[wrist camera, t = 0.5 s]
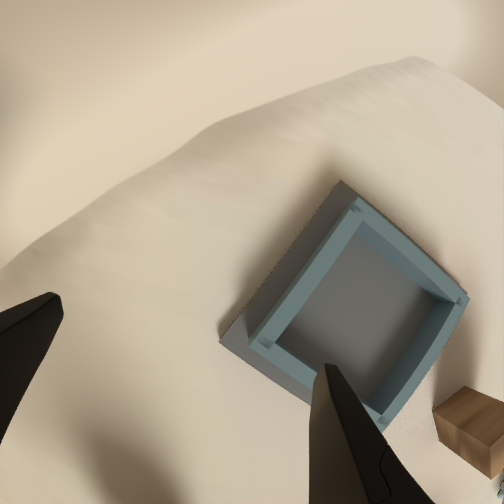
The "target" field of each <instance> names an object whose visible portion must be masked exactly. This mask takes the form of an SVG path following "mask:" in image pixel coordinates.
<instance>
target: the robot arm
mask: <svg viewBox="0 0 504 504" xmlns="http://www.w3.org/2000/svg"><path fill="white" fill-rule="evenodd" d="M63 315H64V312H63V307H62V303H61V298H60V296H59V295H58V294H56V293H53V292H47V293H45V294H42V295H40V296H38V297H35V298H33V299H30V300H28V301H26V302H23V303H21V304H19V305H16V306H14V307H12V308H10V309H7V310H5V311H3V312H0V444H1V442H2V441H1V440H2V439H3V437H4V435H5V433H6V430H7V428H8V426H9V424H10V422H11V420H12V418H13V415H14V413H15V411H16V409H17V407H18V405H19V403H20V401H21V399H22V397H23V395H24V393H25V392H26V390H27V388H28V386H29V384H30V382H31V380H32V378H33V377H34V375H35V373H36V371H37V369H38V367H39V366H40V364H41V362H42V360H43V359H44V357H45V355H46V353H47V351H48V349H49V347H50V345H51V343H52V341H53V338H54V336H55V334H56V332H57V330H58V328H59V326H60V323H61V321H62V319H63ZM309 504H435V503H434V502H433V501H432V500H431V499H430V498H429V496H428V495H427V494H426V493H425V492H424V491H423V489H422V488H421V487H420V486H419V485H418V483H417V482H416V481H415V480H414V479H413V477H412V476H411V475H410V474H409V472H408V471H407V470H406V468H405V467H404V466H403V465H402V463H401V462H400V460H399V459H398V457H397V456H396V455H395V453H394V452H393V450H392V448H391V447H390V445H388V443H387V441H386V439H385V438H384V436H383V435H382V433H381V432H380V430H379V429H378V427H377V426H376V424H375V423H374V421H373V420H372V418H371V417H370V415H369V414H368V412H367V410H366V409H365V407H364V406H363V404H362V403H361V401H360V400H359V398H358V397H357V395H356V394H355V392H354V391H353V389H352V388H351V386H350V385H349V383H348V382H347V380H346V379H345V377H344V376H343V374H342V373H341V371H340V370H339V368H338V367H337V365H335V364H331V363H323V364H322V366H321V367H320V369H319V371H318V373H317V375H316V377H315V379H314V382H313V391H312V401H311V411H310V421H309Z"/></svg>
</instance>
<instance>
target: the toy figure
mask: <svg viewBox="0 0 504 504" xmlns="http://www.w3.org/2000/svg"><path fill="white" fill-rule="evenodd" d="M500 489H501V491H500V492H499V494H498V498H499V499H501V498H503V501H502V504H504V481H503V482H502V484H501V486H500Z"/></svg>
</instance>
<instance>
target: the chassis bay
mask: <svg viewBox="0 0 504 504" xmlns="http://www.w3.org/2000/svg"><path fill="white" fill-rule="evenodd" d="M469 300H470V299H469V297H468V296H467V292H466V291H465V290H464V289H463V288H462V287H461V286H460V285H459V284H458V283H457V282H456V281H455V280H454V279H453V278H452V277H451V276H450V275H449V274H448V273H447V272H446V271H445V270H444V269H443V268H442V267H441V266H440V265H439V264H438V263H437V262H436V261H434V260H433V259H432V258H431V257H430V256H429V255H428V254H427V253H426V252H425V251H424V250H423V249H422V248H421V247H420V246H418V245H417V244H416V243H415V242H414V241H413V240H412V239H411V238H410V237H409V236H407V235H406V234H405V233H404V232H403V231H402V230H401V229H400V228H398V227H397V226H396V225H395V224H394V223H393V222H391V221H390V220H389V219H388V218H387V217H386V216H384V215H383V214H382V213H381V212H380V211H379V210H377V209H376V208H375V207H374V206H373V205H371V204H370V203H369V202H368V201H366V200H365V199H364V198H363V197H362V196H360V195H359V194H358V193H357V192H355V191H354V190H353V189H351V188H350V187H349V186H348V185H346V184H345V183H344V182H343V181H341V180H340V181H339V182H338V183H337V184H336V186H335V187H334V188H333V190H332V191H331V193H330V194H329V195H328V197H327V198H326V200H325V201H324V202H323V204H322V205H321V206H320V208H319V209H318V211H317V212H316V213H315V215H314V216H313V217H312V219H311V220H310V221H309V223H308V224H307V226H306V227H305V228H304V230H303V231H302V232H301V234H300V235H299V236H298V238H297V239H296V240H295V242H294V243H293V244H292V246H291V247H290V248H289V250H288V251H287V253H286V254H285V255H284V257H283V258H282V259H281V261H280V262H279V263H278V265H277V266H276V267H275V269H274V270H273V271H272V272H271V274H270V275H269V276H268V278H267V279H266V280H265V282H264V283H263V284H262V286H261V287H260V288H259V290H258V291H257V292H256V294H255V295H254V296H253V297H252V299H251V300H250V301H249V303H248V304H247V305H246V307H245V308H244V309H243V310H242V312H241V313H240V314H239V316H238V317H237V318H236V320H235V321H234V322H233V323H232V325H231V326H230V327H229V329H228V330H227V331H226V332H225V334H224V335H223V336H222V338H221V339H220V340H219V343H220V344H222V345H223V346H224V347H226V348H227V349H229V350H230V351H231V352H233V353H234V354H235V355H237V356H238V357H240V358H241V359H242V360H244V361H245V362H246V363H248V364H249V365H251V366H252V367H254V368H255V369H256V370H258V371H259V372H261V373H262V374H264V375H265V376H266V377H268V378H269V379H271V380H272V381H274V382H275V383H277V384H278V385H280V386H281V387H283V388H284V389H286V390H287V391H289V392H290V393H292V394H293V395H295V396H296V397H298V398H299V399H301V400H303V401H304V402H306V403H307V404H309V405H310V406H311V401H312V391H313V382H314V379H315V377H316V375H317V373H318V371H319V369H320V367H321V366H322V364H323V363H331V364H335V365H337V367H338V368H339V370H340V371H341V373H342V374H343V376H344V377H345V379H346V380H347V382H348V383H349V385H350V386H351V388H352V389H353V391H354V392H355V394H356V395H357V397H358V398H359V400H360V401H361V403H362V404H363V406H364V407H365V409H366V410H367V412H368V414H369V415H370V417H371V418H372V420H373V421H374V423H375V424H376V426H377V427H378V429H379V430H380V432H381V433H382V432H383V431H384V430H385V429H386V428H387V426H388V425H389V424H390V423H391V421H392V420H393V419H394V418H395V416H396V415H397V414H398V413H399V411H400V410H401V409H402V407H403V406H404V405H405V403H406V402H407V401H408V399H409V398H410V397H411V395H412V394H413V393H414V391H415V390H416V388H417V387H418V386H419V384H420V383H421V381H422V380H423V378H424V377H425V375H426V374H427V372H428V371H429V369H430V368H431V366H432V365H433V363H434V362H435V360H436V358H437V357H438V355H439V354H440V352H441V350H442V349H443V347H444V345H445V344H446V342H447V340H448V339H449V337H450V335H451V334H452V332H453V330H454V328H455V326H456V325H457V323H458V321H459V319H460V317H461V315H462V314H463V312H464V310H465V308H466V306H467V304H468V302H469Z"/></svg>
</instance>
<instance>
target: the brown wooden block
mask: <svg viewBox="0 0 504 504" xmlns="http://www.w3.org/2000/svg"><path fill="white" fill-rule="evenodd" d="M432 413H433V417H434V421H435V425H436V429H437V433H438V437H439V441H440V442H441V443H443V444H444V445H445V446H447V447H448V448H449V449H451V450H452V451H453V452H454V453H456V454H457V455H458V456H460V457H461V458H462V459H464V460H465V461H467V462H468V463H469V464H471V465H472V466H473V467H475V468H476V469H477V470H479V471H480V472H481V473H483V474H484V475H485V476H487V477H488V478H490V479H491V480H492V479H493V478H494V477H495V476H496V475H497V474H498V473H499V472H501V471H502V470H503V469H504V402H502V401H499V400H497V399H495V398H492V397H490V396H487V395H485V394H483V393H480V392H478V391H476V390H473V389H471V388H469V387H466V386H464V387H463V388H462V389H460V390H459V391H458V392H457V393H455V394H454V395H453V396H452V397H450V398H449V399H448V400H446V401H445V402H444V403H442V404H441V405H440V406H438V407H437V408H435V409H434V410H433V411H432Z"/></svg>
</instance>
